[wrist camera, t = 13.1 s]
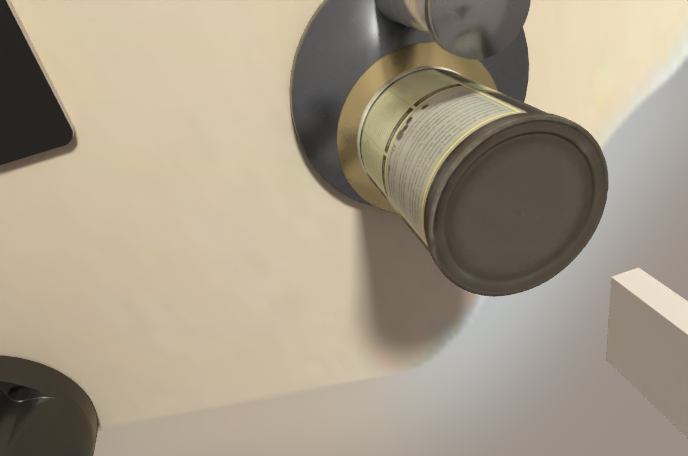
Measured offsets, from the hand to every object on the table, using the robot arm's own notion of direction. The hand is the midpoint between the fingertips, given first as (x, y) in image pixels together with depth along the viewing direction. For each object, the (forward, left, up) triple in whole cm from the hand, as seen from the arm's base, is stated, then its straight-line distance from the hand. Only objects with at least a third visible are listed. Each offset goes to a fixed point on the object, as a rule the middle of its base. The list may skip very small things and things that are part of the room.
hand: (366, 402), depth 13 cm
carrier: (+12, -2, -29) cm, 31 cm away
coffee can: (+12, -5, -28) cm, 31 cm away
